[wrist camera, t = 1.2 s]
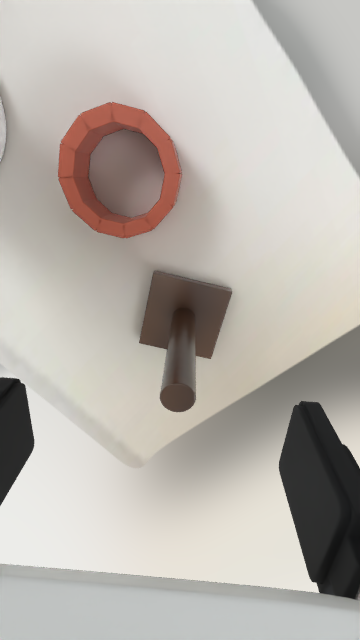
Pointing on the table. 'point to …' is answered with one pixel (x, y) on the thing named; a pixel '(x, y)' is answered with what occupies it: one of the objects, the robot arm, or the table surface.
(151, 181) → the table surface
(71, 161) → the hoop
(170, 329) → the stand
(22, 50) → the table surface
